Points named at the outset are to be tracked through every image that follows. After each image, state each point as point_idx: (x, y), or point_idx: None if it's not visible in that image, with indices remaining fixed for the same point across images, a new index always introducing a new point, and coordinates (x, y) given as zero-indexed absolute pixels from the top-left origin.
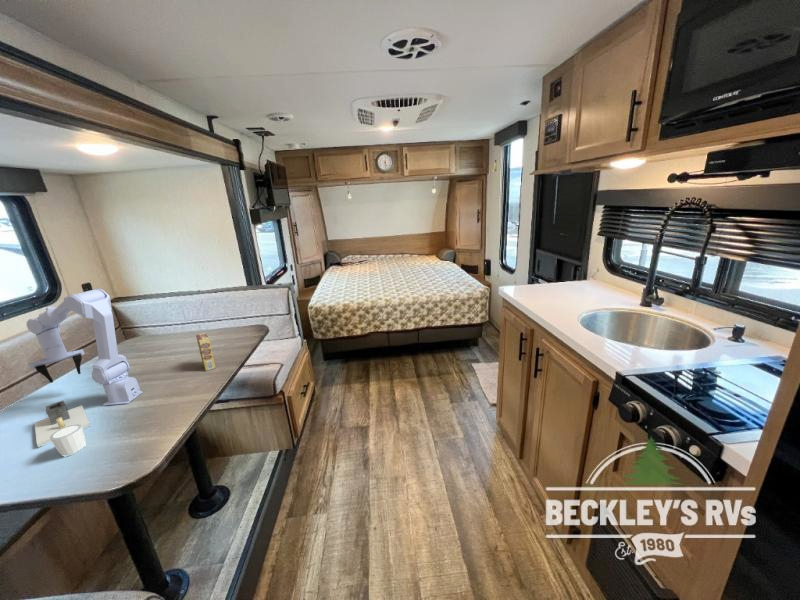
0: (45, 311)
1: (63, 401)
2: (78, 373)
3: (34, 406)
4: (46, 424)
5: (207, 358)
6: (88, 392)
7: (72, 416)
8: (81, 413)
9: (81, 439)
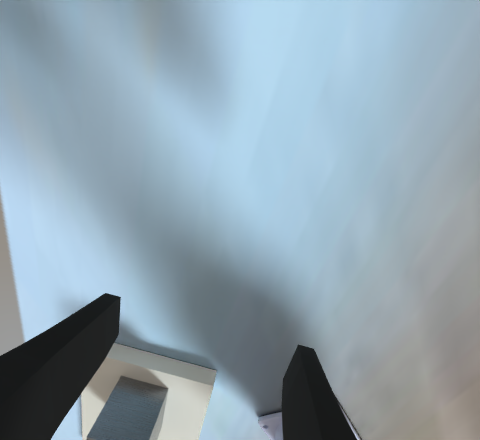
0: None
1: None
2: (284, 390)
3: (89, 105)
4: (107, 398)
5: None
6: (299, 238)
7: (168, 425)
8: (191, 432)
9: None
